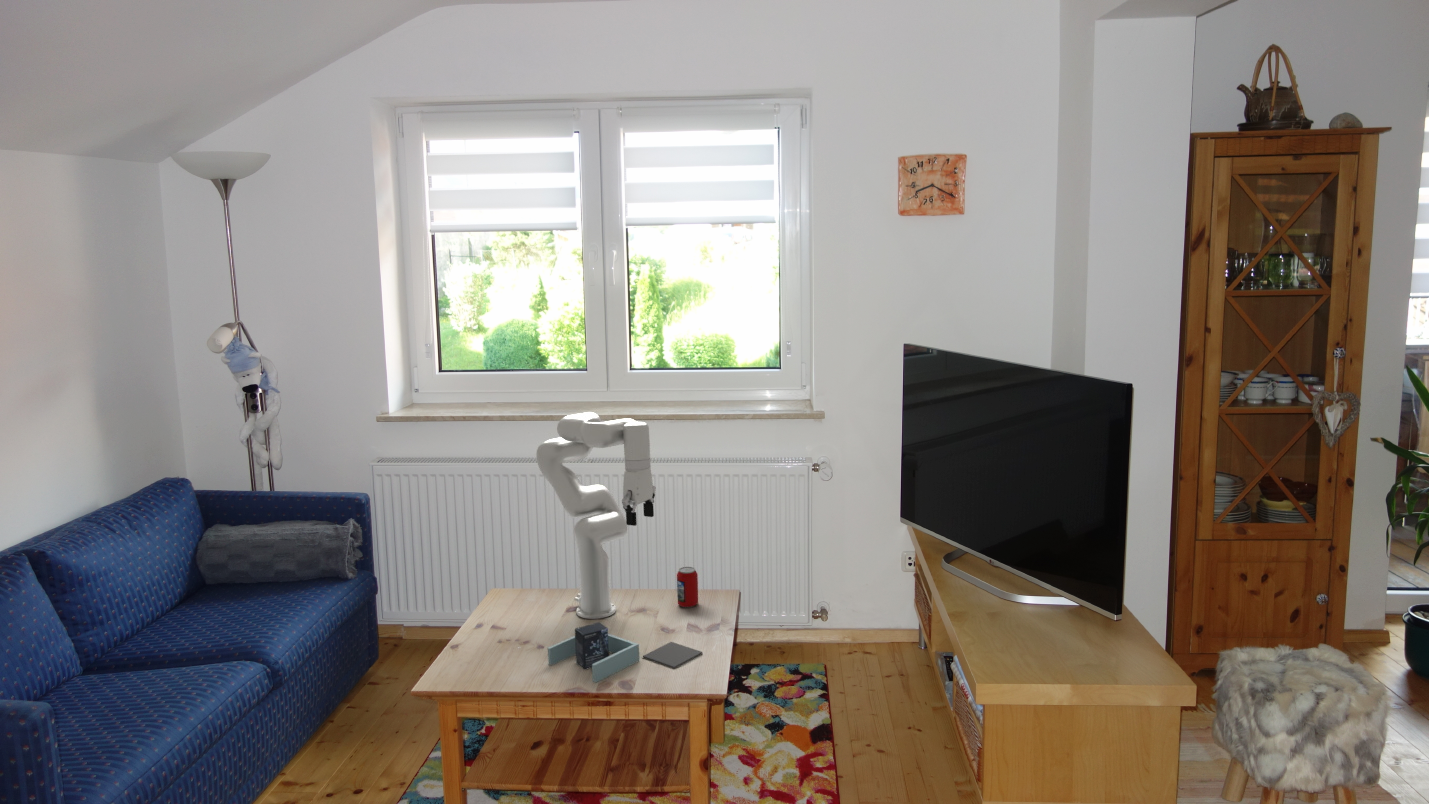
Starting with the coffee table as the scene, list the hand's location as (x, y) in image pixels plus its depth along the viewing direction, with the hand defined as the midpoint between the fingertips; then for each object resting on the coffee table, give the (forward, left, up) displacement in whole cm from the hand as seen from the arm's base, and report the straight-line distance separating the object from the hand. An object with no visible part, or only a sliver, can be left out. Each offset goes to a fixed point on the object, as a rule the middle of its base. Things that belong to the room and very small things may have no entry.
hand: (640, 520), depth 277 cm
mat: (+17, -7, -35) cm, 40 cm away
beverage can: (-5, +25, -36) cm, 44 cm away
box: (+2, -24, -36) cm, 43 cm away
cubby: (+2, -24, -35) cm, 43 cm away
